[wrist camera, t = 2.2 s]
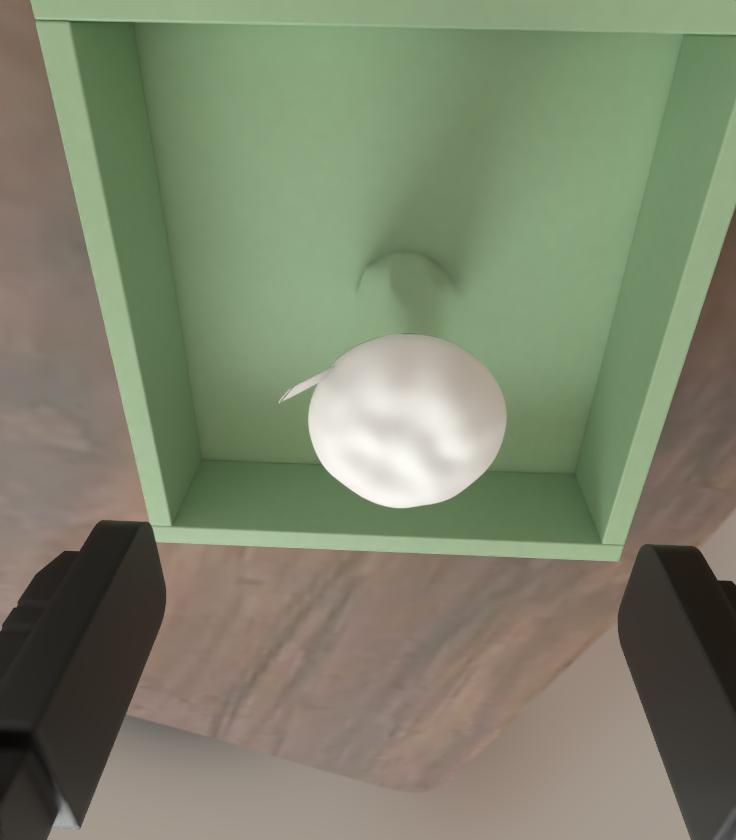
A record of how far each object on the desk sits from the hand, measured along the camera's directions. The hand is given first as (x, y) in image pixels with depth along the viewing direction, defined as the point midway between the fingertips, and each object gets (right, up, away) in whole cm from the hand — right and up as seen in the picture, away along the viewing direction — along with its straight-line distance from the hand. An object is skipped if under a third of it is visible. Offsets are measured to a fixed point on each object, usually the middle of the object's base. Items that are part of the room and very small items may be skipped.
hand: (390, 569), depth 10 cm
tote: (+1, +7, +11) cm, 13 cm away
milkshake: (+1, +7, +11) cm, 13 cm away
